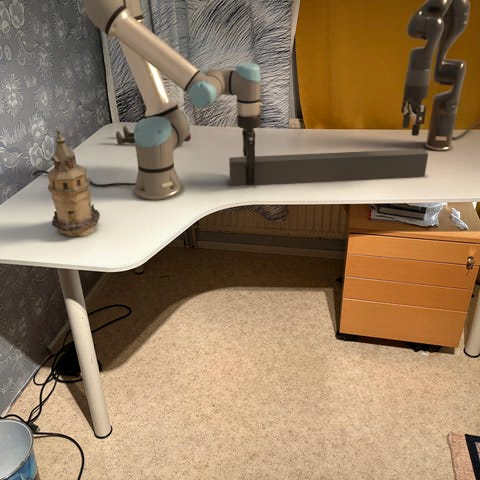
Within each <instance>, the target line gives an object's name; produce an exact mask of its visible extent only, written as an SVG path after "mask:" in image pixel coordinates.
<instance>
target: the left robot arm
mask: <svg viewBox="0 0 480 480" xmlns="http://www.w3.org/2000/svg"><path fill="white" fill-rule="evenodd" d="M143 3H144V2H143V0H83V7H84V12H85V13H86V15H87V17H88V18H89V20H90V22H92V24H94V26H95V27H97V28H98V29H99V30H101V31H102V32H103V33H104V34H105V35H107V36H108V37H109V38H117V41H118V43H119V45H120V48H121V50H122V52H123V54H124V57H125V59H126V62H127V64H128V66H129V69H130V71H131V74H132V76H133V79H134V81H135V84H136V86H137V89H138V91H139V93H140V95H141V98H142V100H143V102H144V105H145V107H146V110H145V112H144V117H145V118H142V119H140V120H138V121H137V123H135V125H134V127H133V132H134V140H135V143H134V144H135V154H136V161H137V175H136V179H135V182H111V183H101V184H99V183H94V182H92V181H91V180H90V184H89V185H91V186H93V187H98V188H102V187H103V188H104V187H105V188H106V187H111V186H112V187H113V186H134V193H135V195H136V196H137V197H138V198H141V199H143V200H148V201H161V200H168V199H171V198H174V197H176V196H178V195H179V194H180V193H181V192H182V183H181V180H180V177H179V176H178V173H177V171H176V169H175V161H174V160H175V159H174V158H175V157H174V151H175V150H176V149H177V148H178V147H179V146H180V145H181V144H183V143H184V142H185V139H186V138H187V136H188V134H189V133H191V132H190V131H191V122H190V119H189V117H188V115H187V114H186V112H184V111H182V110H181V109H180V107H179V104H178V102H177V101H175V100H172V98H171V96H170V93H169V91H168V89H167V86H166V83H165V81H164V78H163V76H164V77H166V78H167V79H168V80H169V81H171V82H172V83H173V84H174V85H176V86H177V87H178V88H180V89H181V90H182V91H183V92H185V93H186V94H187V95H188V99H189V101H190V104H192V105H193V106H194V107H196V108H198V109H205V108H208V107H210V106H211V105H213V104H214V103H215V102H216V101H217V100H218V99H219V98H220V97H221V96H222V95H223V96H236V113H237V115H236V125H237V127H238V128H240V129H242V131H241V134H242V153H243V154H242V155H243V157H246V159H247V165H246V166H245V168H246V186H256V185H255V166H256V165H255V156H256V132H255V129H257V128H259V127H261V114H260V113H261V107H263V102H261V86H262V85H261V82H262V78H261V67H260V66H259V64H257V63H254V62H242V63H238V64H237V65H235V69H234V70H233V69H232V70H231V69H215V68H214V69H213V68H209V69H201V70H200V69H198V68H197V67H196V66H195V65H194V64H192V63H191V62H190V61H189V60H187V59H186V58H185V57H184V56H182V55H181V54H180V53H179V52H178V51H176V50H175V49H174V48H172V46H170V45H169V44H167V42H165V41H163V40H162V39H161V38H160V37H159V36H157V35H156V34H155V33H153V32H152V30H150V29H149V28H147V27H146V26H145V25H144V23H145V16H144V14H143V12H142V9H143V5H144V4H143ZM162 75H163V76H162ZM38 173H39V174H41V173H42V174H46V175H48V173H49V171H48V170H43V169H42V170H40V169H39V170H35V171H33V172H32V174H31V175H32V176H35V175H37V174H38Z"/></svg>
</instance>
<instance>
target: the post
mask: <svg viewBox="0 0 480 480" xmlns="http://www.w3.org/2000/svg"><path fill="white" fill-rule="evenodd" d="M428 158H429V152H428V151H426V150H425V149H424V148H407V149H388V150H387V149H386V150H385V149H384V150H365V151H364V150H362V151H343V152H342V151H341V152H322V153H321V152H319V153H298V154H276V155H273V154H272V155H255V165H256V166H255V185H254V186H263V185H282V184H283V185H284V184H303V183H323V182H342V181H346V182H347V181H363V180H364V181H366V180H383V179H384V180H385V179H403V178H405V179H406V178H425V177H426V171H427V164H428ZM228 160H229V161H228V162H229V165H228V167H229V183H230V187H244V186H247V185H246V168H245V166H246V165H247V159H246V157H245V156H232V157H229V159H228Z"/></svg>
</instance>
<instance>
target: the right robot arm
mask: <svg viewBox="0 0 480 480" xmlns="http://www.w3.org/2000/svg"><path fill="white" fill-rule="evenodd" d="M470 9H471V3H470V0H426V1H425V2H424V3H423V4H422V5H421V6H420V7H419V8H418V9H417V10H416V12H415V13H413V15H412V16H411V17H410V19H409V20H408V23H407V25H406V33H407V36H408V37H409V38H410V39H411V40H412V39H413V40H418V41H419V40H421V41H426V43H425V45H424V46H418V47H417V46H416V47H413V48H412V49H410V51H409V58H408V65H407V70H406V73H405V79H404V87H403V97H402V104H401V109H400V113H401V114H402V126H401V127H402V128H403V129H409V128H410V125H411V124H410V123H411V119H412V128H411V135H412V136H413V137H417V136H419V134H420V130H421V129H420V128H421V125H424V124H425V121H426V120H425V119H426V112H427V105H426V104H424V105H423V100H425V99H427V98H428V96H429V90H430V83H431V77H432V81H433V83H434V84H435V85H440V86H447V87H448V86H450V87H451V89H449V90H447V91H443V92H439V93H436V94H435V95H434V96H433V99H432V106H431V111H430V117H429V123H428V129H427V135H426V141H425V147H426V148H427V149H430V150H433V151H440V152H441V151H448V150H451V147H452V141H453V140H458V139H460V138H462V137H463V136H464V135H466V134H468V132H470V131H471V130H472V129H473V128H475V127H476V126H478V125H480V121H479V122H477V123H475V124H473V125H471V126H470V127H469V128H467V129H466V130H465V131H464V132H463V133H461V134H459V135H458V136H455V137H454V130H455V124H456V119H457V115H458V108H459V104H460V98H461V92H462V88H463V83H464V80H465V76H466V71H467V63H466V61H465V60H463V59H451V58H449V59H448V58H447V57H446V56H447V54H448V52H449V50H450V49H451V47H452V45H453V44H454V43H455V41H456V40H457V39H459V37H460V36H461V35H462V34H463V32H465V29H466V28H467V26H468V24H469V18H470V17H469V16H470ZM435 51H436V52H435ZM434 54H435V60H434V66H433V58H434ZM432 66H433V72H432Z"/></svg>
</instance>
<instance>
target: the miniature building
mask: <svg viewBox="0 0 480 480" xmlns="http://www.w3.org/2000/svg"><path fill="white" fill-rule="evenodd" d="M56 134H57V136H56V138H55V140H54V141H55V142H56V147H55V154H54V156H52V157H51V161H52V162H53V165H54V167H53V168H51V169H50V170H49V171H48V172H49V173H48V174H46V178H47V179H48V182H49V184H48V186H47V190H48V191H49V193H50V194H51V200H52V201H53V205H54V209H55V211H53V217H52V220H51V223H52V225H51V227H54V228H56V229H58V230H59V231H60V234H63V235H64V234H65V235H66V236H69V237H77V236H80V237H83V236H87V235H88V234H90V233H93V232H94V231H95V229H96V226H97V225H98V223H99V220H100V216H101V213H100V212H99V210H98V209H96V208H95V204H92V201H91V200H92V199H91V198H92V197H91V192H92V191H91V188H90V185H91V184H90V181H91V178H89V177H88V174H87V167H85V166H84V165H83V166H82V165H80V164H77V160H76V154H75V151H74V150H70V149H69V147H68V145H67V143H66V138H65V137H64V136H63V135H61V130H60V129H56Z"/></svg>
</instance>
